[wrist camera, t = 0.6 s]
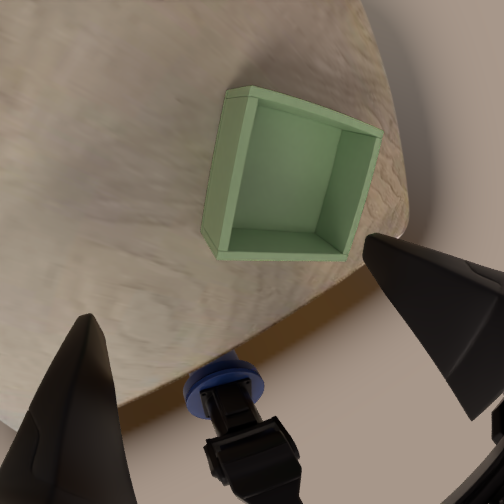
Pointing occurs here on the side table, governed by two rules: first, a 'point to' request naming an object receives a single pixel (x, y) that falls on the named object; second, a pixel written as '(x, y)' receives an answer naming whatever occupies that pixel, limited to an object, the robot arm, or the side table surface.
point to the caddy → (286, 179)
